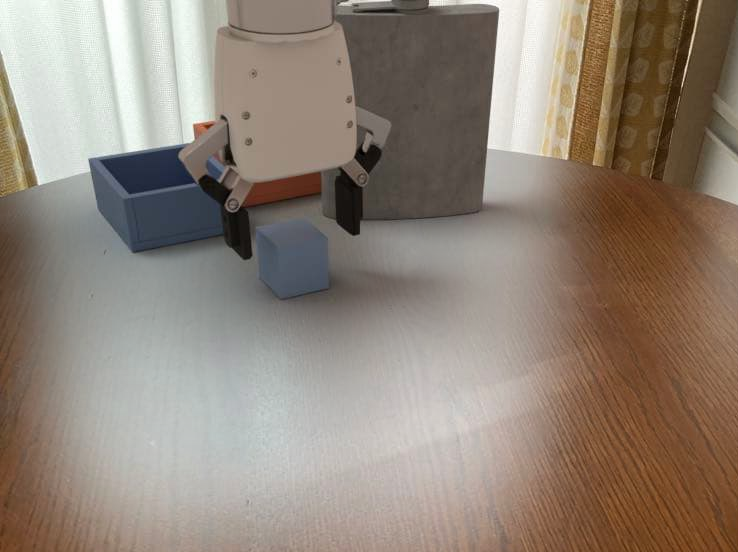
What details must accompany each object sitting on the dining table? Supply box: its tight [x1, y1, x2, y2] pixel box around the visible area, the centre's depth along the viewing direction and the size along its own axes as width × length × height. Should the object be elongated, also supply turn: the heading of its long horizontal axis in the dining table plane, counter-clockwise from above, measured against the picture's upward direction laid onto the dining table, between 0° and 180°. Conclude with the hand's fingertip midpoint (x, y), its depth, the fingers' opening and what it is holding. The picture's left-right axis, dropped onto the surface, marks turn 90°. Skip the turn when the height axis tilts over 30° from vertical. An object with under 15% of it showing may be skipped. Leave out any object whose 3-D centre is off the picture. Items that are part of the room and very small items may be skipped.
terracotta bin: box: [192, 120, 322, 208], centre depth 93 cm, size 11×11×5 cm
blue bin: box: [87, 142, 226, 253], centre depth 86 cm, size 11×11×5 cm
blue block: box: [255, 217, 330, 300], centre depth 77 cm, size 4×4×4 cm
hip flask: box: [321, 0, 500, 221], centre depth 84 cm, size 16×4×20 cm, turn 100°
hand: (296, 241), depth 76 cm, fingers open, 9 cm apart
